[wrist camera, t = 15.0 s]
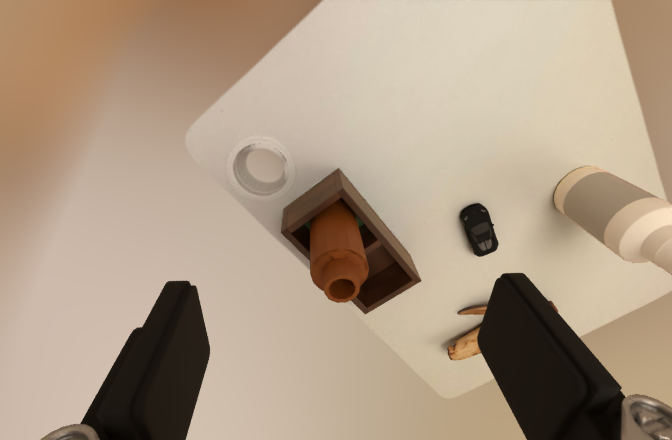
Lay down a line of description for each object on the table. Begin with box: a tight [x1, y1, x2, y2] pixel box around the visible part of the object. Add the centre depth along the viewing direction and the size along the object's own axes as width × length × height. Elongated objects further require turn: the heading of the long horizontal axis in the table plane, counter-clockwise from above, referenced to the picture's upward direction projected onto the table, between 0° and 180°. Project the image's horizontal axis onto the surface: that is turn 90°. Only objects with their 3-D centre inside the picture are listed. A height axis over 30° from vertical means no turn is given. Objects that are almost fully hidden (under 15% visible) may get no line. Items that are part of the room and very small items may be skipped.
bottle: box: [310, 198, 369, 303], centre depth 37 cm, size 6×6×14 cm
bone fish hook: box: [447, 301, 558, 360], centre depth 53 cm, size 9×5×18 cm
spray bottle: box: [554, 167, 672, 275], centre depth 37 cm, size 7×7×18 cm
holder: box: [281, 168, 421, 314], centre depth 43 cm, size 9×16×6 cm, turn 37°
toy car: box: [460, 203, 498, 257], centre depth 46 cm, size 8×3×2 cm, turn 26°
